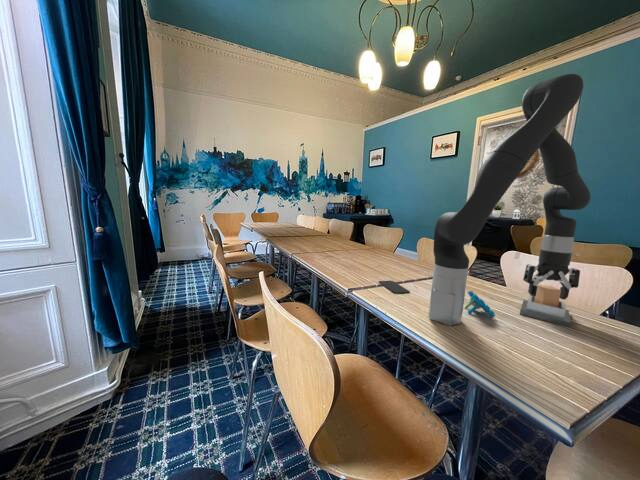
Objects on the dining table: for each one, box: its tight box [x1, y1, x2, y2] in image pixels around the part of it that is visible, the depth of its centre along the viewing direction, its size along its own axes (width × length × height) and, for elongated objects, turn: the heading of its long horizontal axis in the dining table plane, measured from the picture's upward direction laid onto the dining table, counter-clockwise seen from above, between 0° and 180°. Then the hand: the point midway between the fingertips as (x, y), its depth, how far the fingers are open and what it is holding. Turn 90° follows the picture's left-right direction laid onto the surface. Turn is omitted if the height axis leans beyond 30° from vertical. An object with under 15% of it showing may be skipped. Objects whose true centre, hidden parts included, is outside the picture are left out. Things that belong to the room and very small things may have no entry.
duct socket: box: [519, 294, 571, 328], centre depth 85 cm, size 13×12×4 cm
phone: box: [377, 280, 411, 295], centre depth 107 cm, size 7×1×15 cm
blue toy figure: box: [464, 290, 496, 318], centre depth 83 cm, size 11×6×10 cm
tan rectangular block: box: [534, 284, 561, 307], centre depth 84 cm, size 4×4×8 cm
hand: (547, 297), depth 84 cm, fingers open, 8 cm apart
